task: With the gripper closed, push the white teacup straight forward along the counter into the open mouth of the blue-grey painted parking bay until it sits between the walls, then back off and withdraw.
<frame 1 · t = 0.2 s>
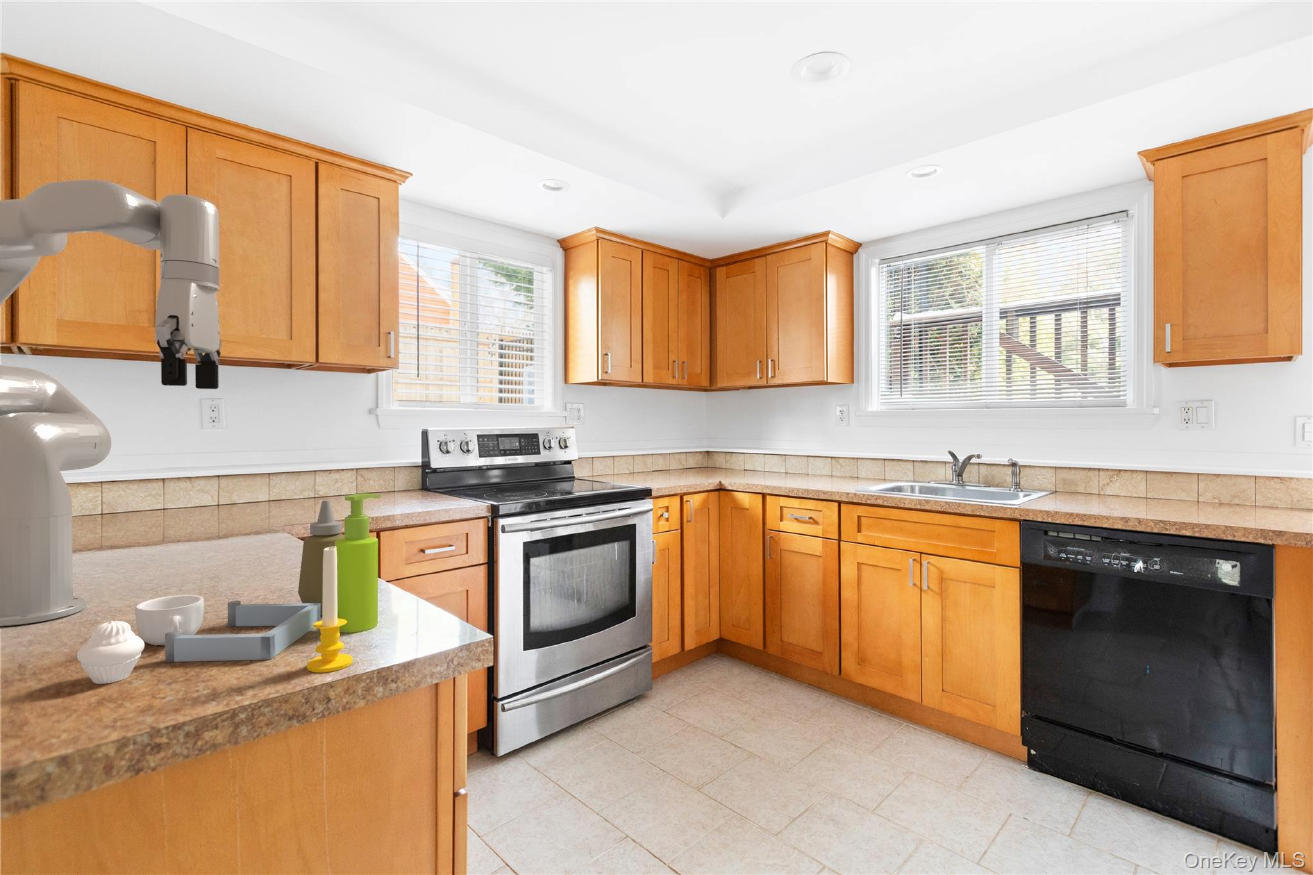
hand: (191, 387, 101), 36 cm above the countertop, tool pointing down, fingers open, 9 cm apart
soap dispenser: (359, 626, 97), on the countertop
teacup: (171, 643, 89), on the countertop
squeeze bottle: (325, 611, 105), on the countertop
bay: (247, 640, 90), on the countertop
candle: (329, 666, 82), on the countertop
muffin: (111, 680, 77), on the countertop
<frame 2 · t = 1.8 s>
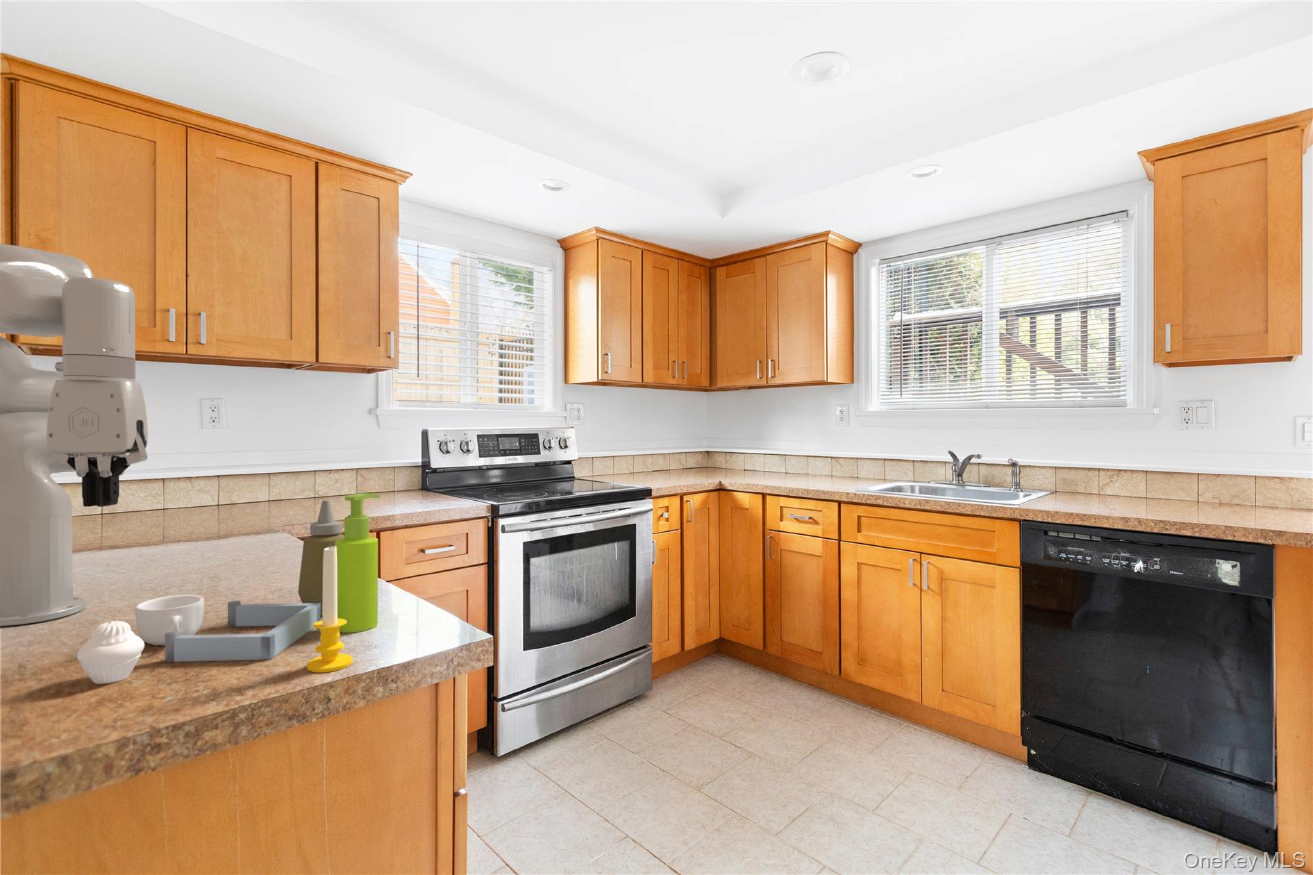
hand: (100, 504, 88), 19 cm above the countertop, tool pointing down, fingers closed
nothing on the countertop moved.
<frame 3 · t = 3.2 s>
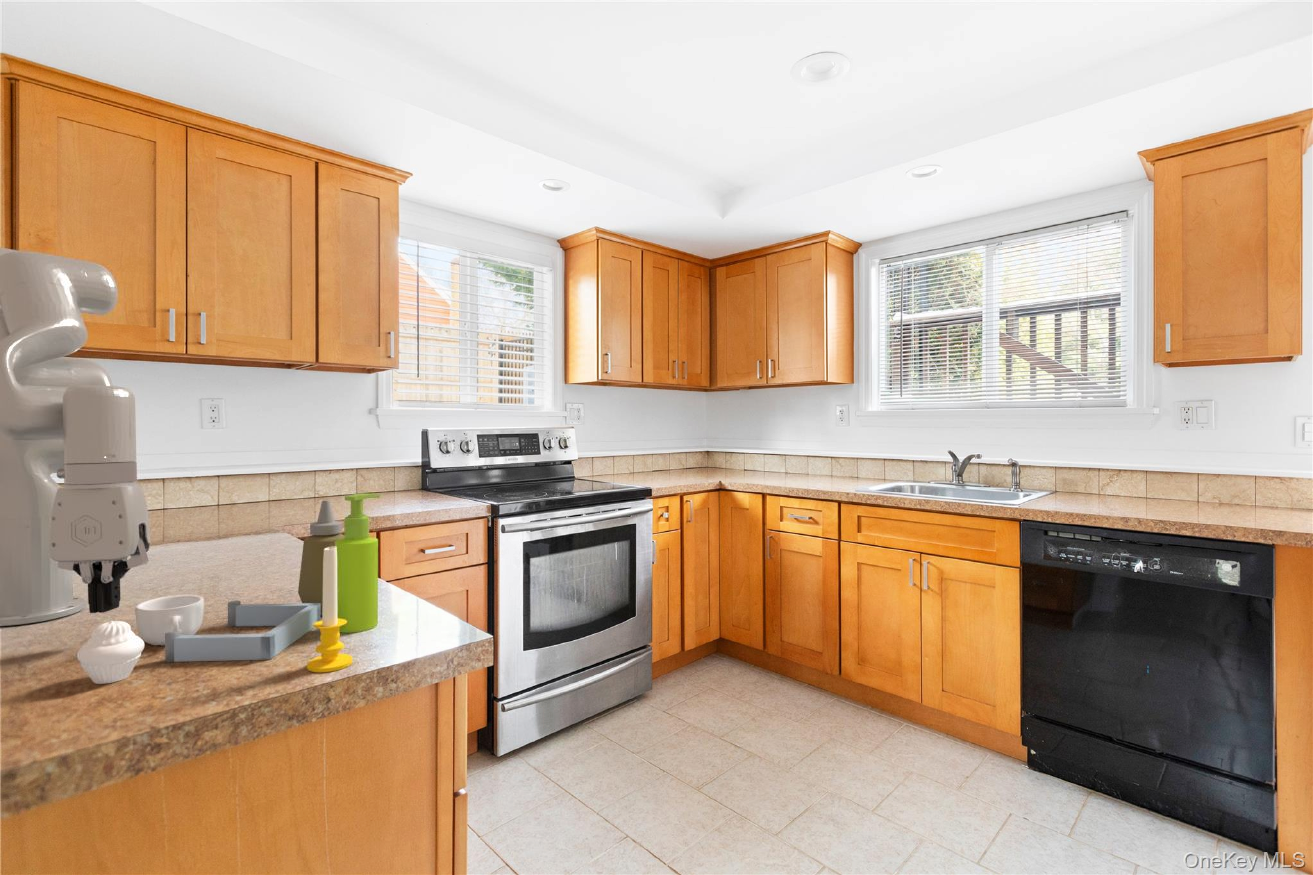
hand: (104, 609, 88), 5 cm above the countertop, tool pointing down, fingers closed
nothing on the countertop moved.
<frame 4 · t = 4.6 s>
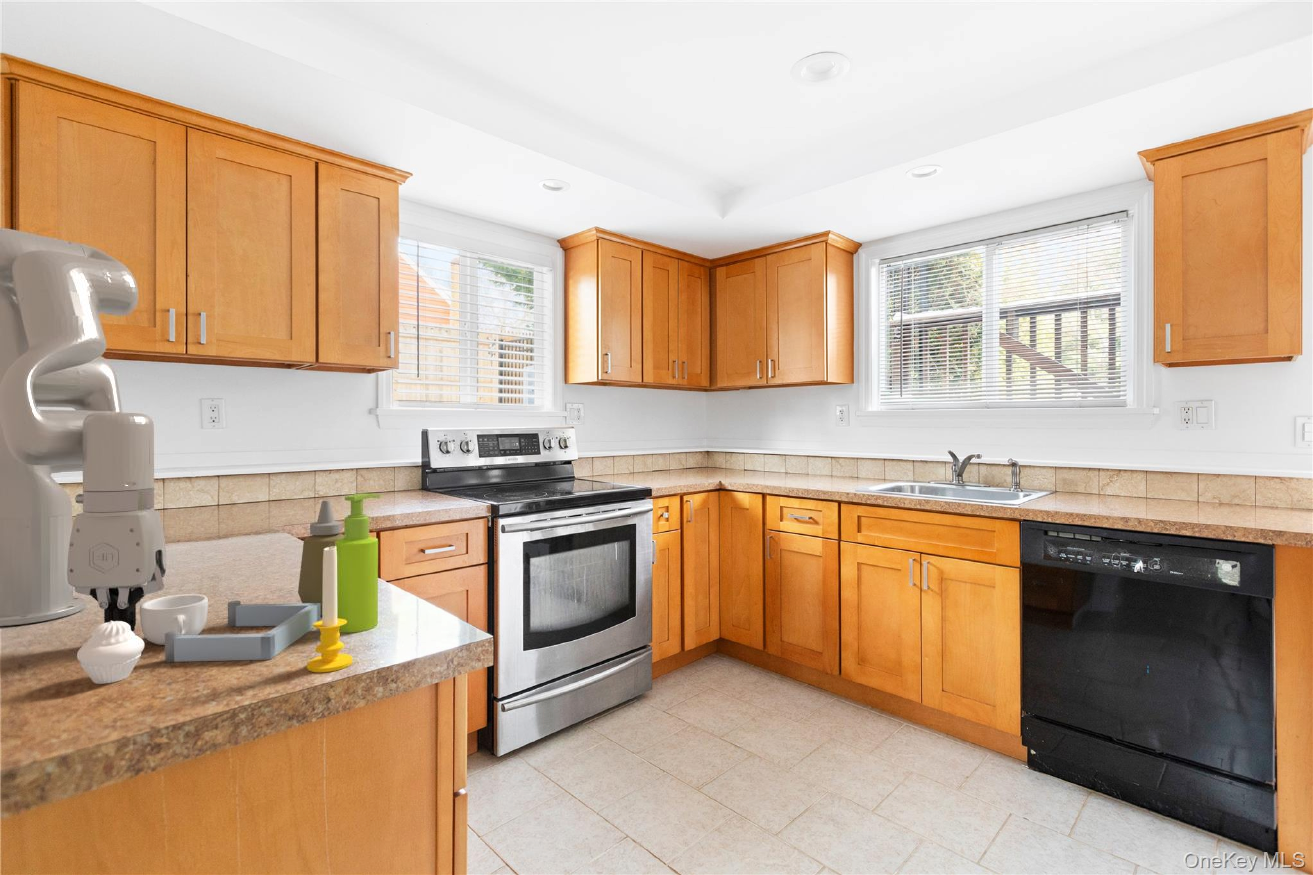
hand: (120, 634, 89), 1 cm above the countertop, tool pointing down, fingers closed
teacup: (175, 642, 89), on the countertop, touching gripper
everything else where it was.
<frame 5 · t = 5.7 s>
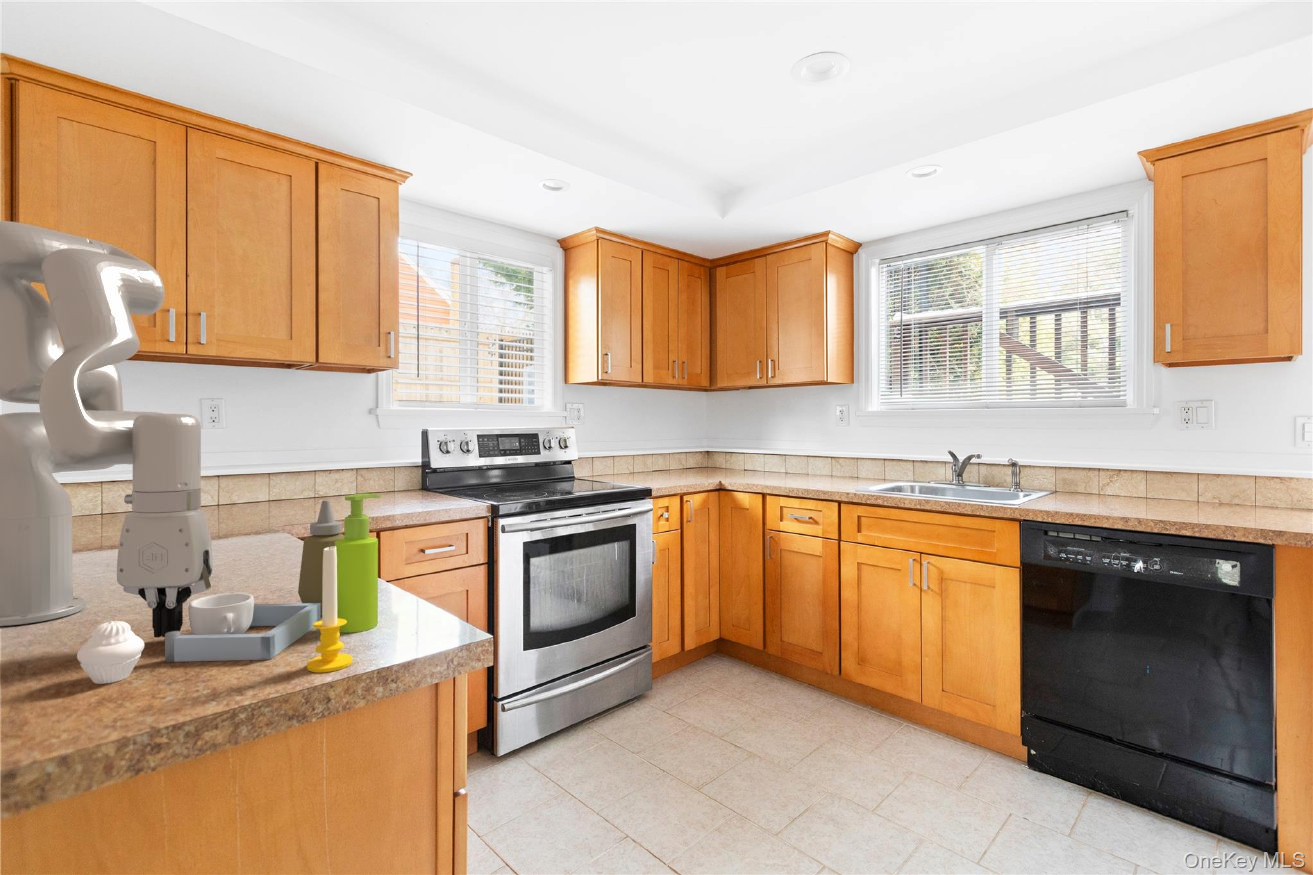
hand: (167, 633, 89), 1 cm above the countertop, tool pointing down, fingers closed
teacup: (223, 640, 90), on the countertop, touching gripper
everything else where it was.
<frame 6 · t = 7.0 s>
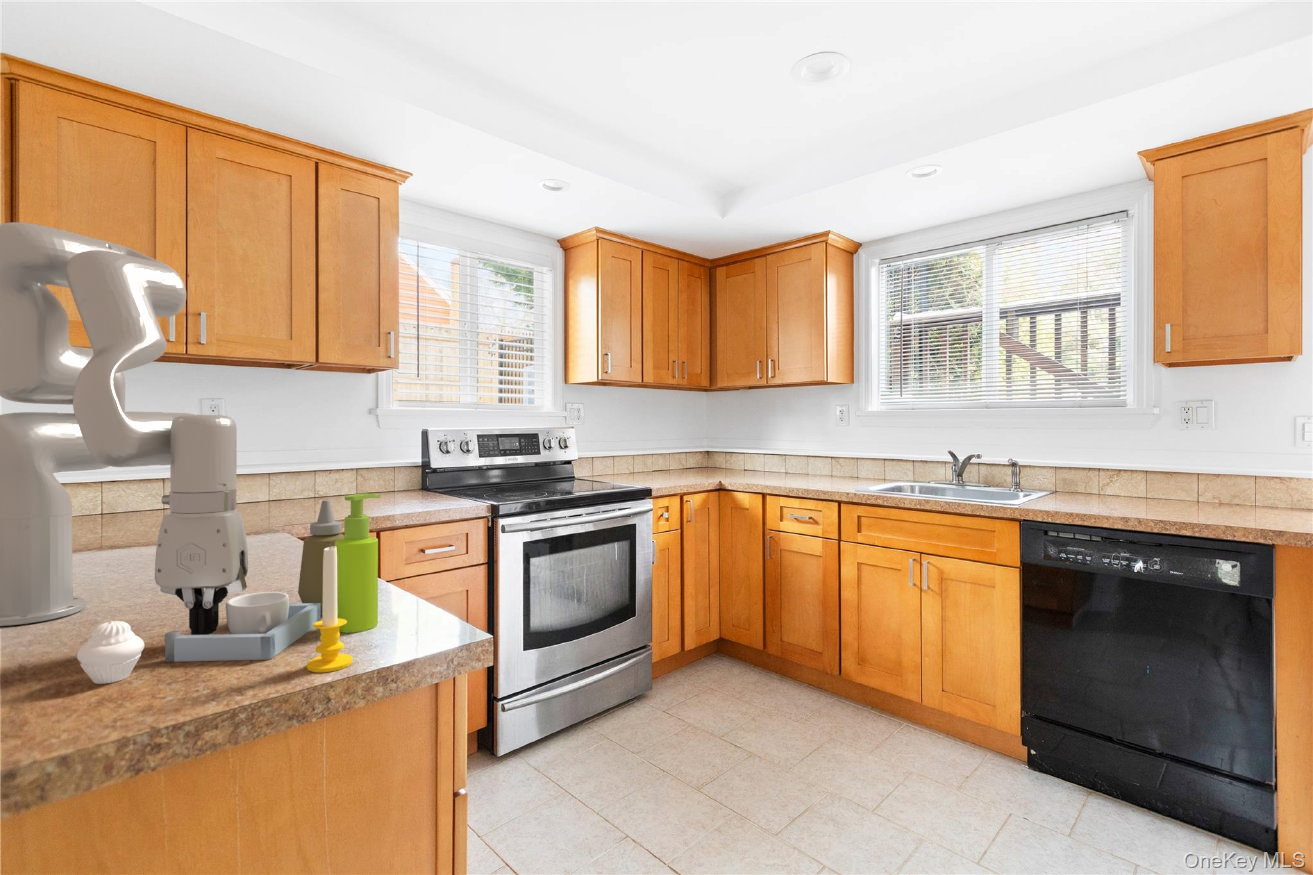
hand: (204, 633, 90), 1 cm above the countertop, tool pointing down, fingers closed
teacup: (260, 639, 91), on the countertop, touching gripper
everything else where it was.
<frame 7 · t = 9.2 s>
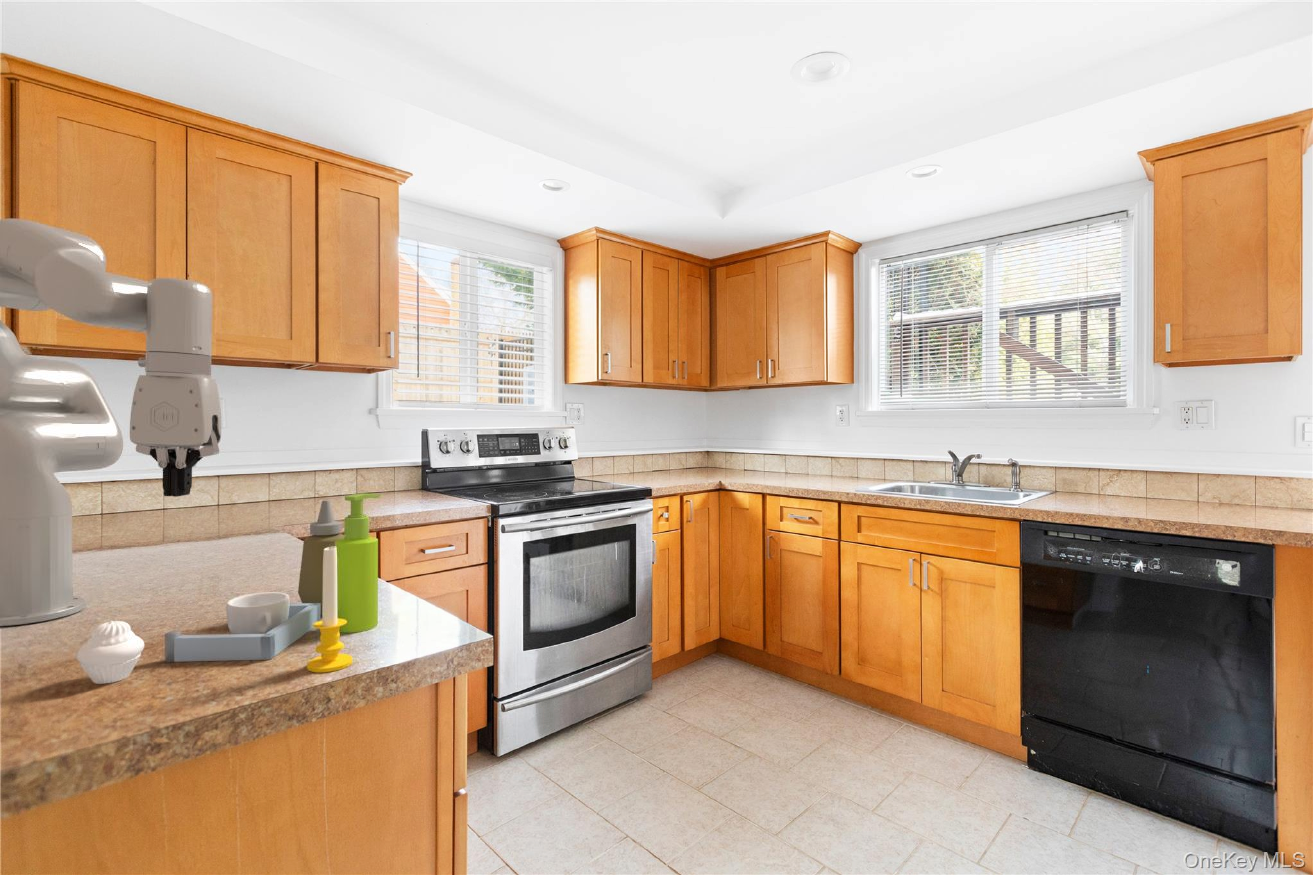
hand: (177, 495, 92), 20 cm above the countertop, tool pointing down, fingers closed
teacup: (260, 639, 91), on the countertop
everything else where it was.
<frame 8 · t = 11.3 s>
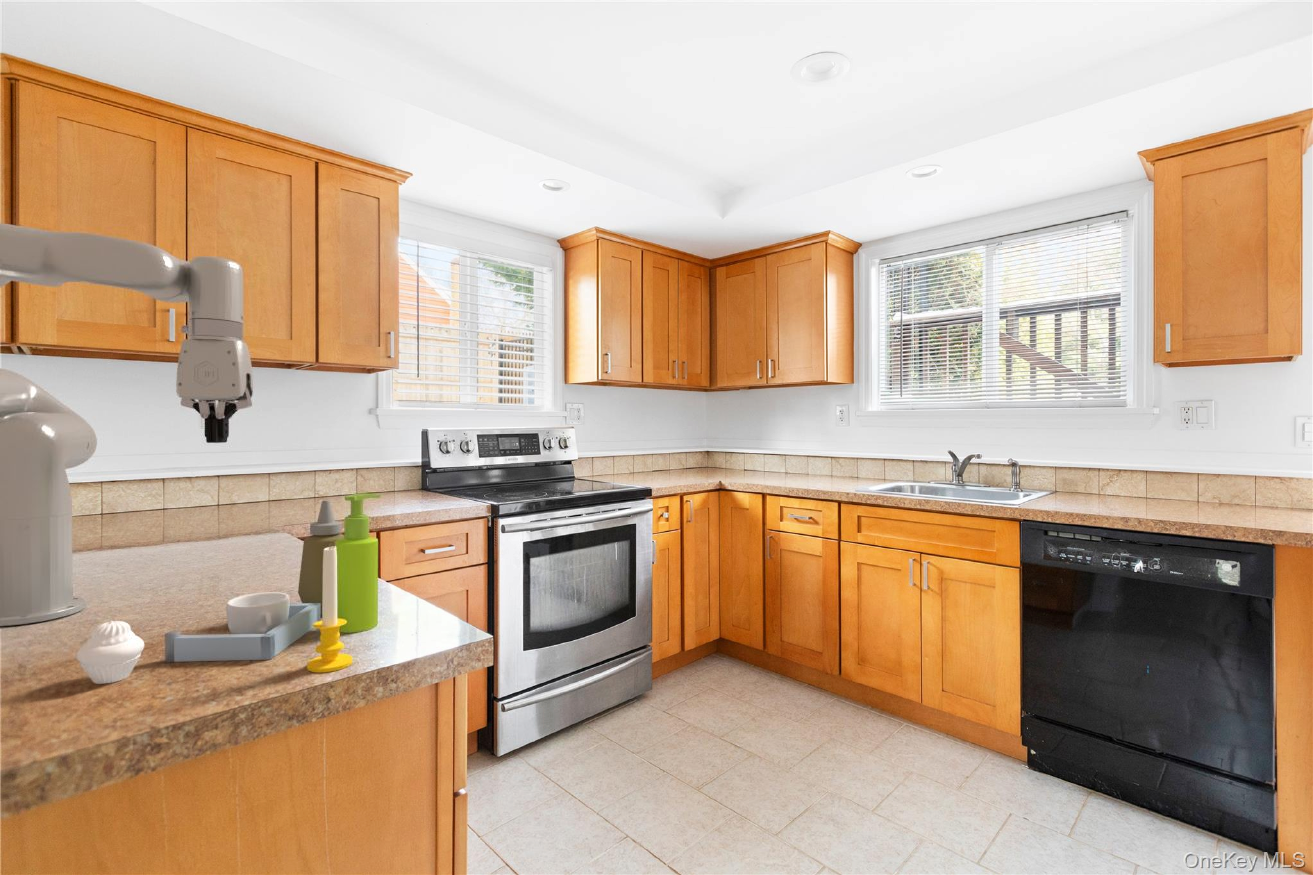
hand: (216, 442, 108), 27 cm above the countertop, tool pointing down, fingers closed
nothing on the countertop moved.
at the end: teacup inside the target area on the bay (1.1 cm from its centre), point 0.0 cm above the bay's base; teacup tilted 0° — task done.
